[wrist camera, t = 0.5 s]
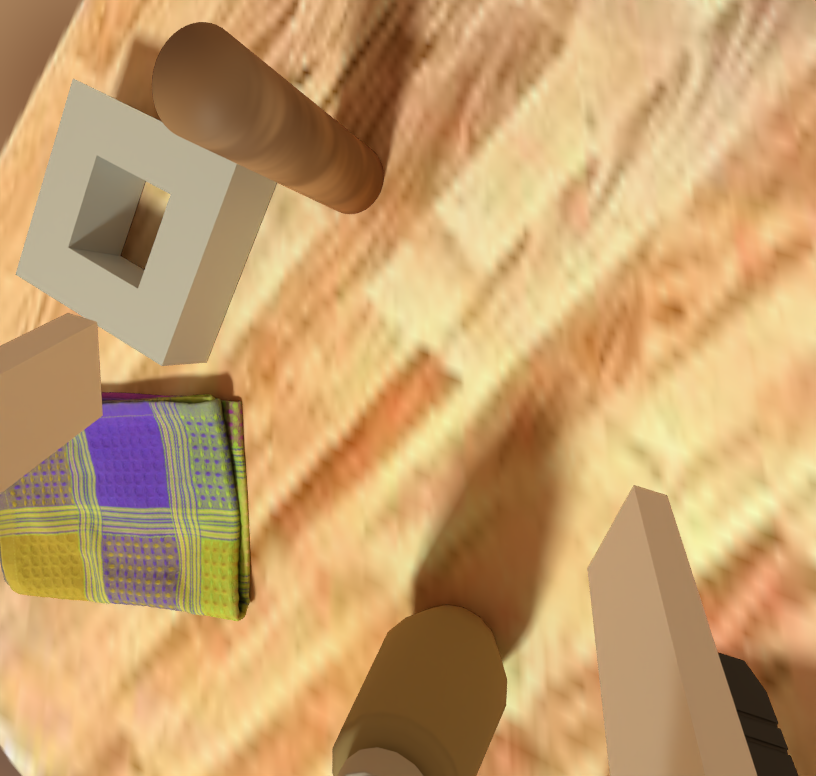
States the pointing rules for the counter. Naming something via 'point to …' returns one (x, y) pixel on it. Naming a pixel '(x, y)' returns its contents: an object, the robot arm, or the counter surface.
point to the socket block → (111, 219)
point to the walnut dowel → (259, 119)
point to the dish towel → (137, 510)
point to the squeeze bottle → (426, 700)
